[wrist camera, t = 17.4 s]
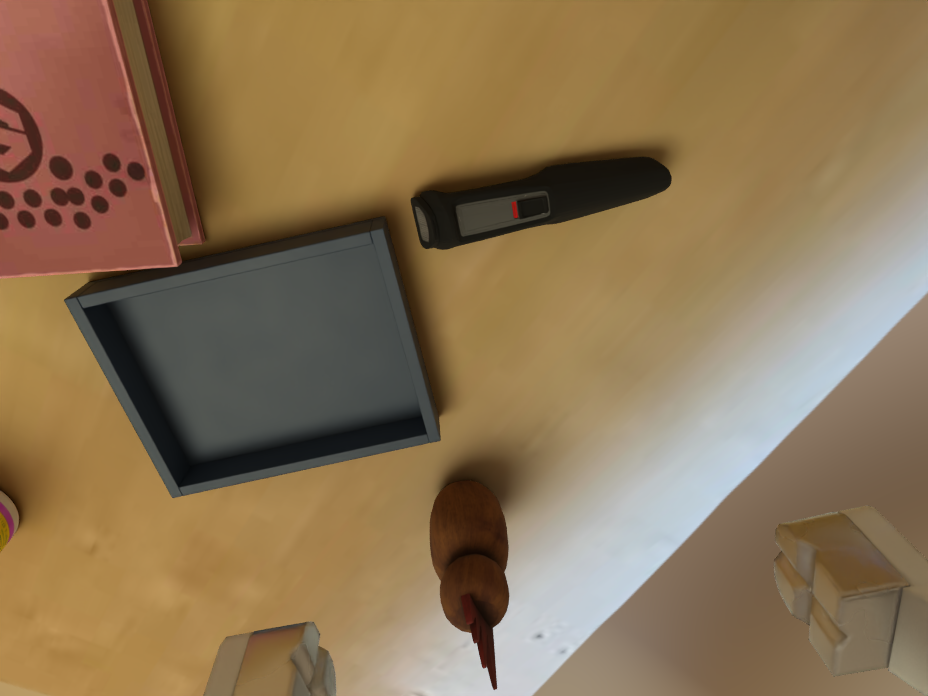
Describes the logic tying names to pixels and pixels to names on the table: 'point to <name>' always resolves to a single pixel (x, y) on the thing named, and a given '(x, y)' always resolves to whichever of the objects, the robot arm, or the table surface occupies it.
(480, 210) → the electric trimmer
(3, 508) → the supplement bottle
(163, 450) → the tray
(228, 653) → the robot arm
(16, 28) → the book
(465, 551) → the wooden figurine
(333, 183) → the table surface
